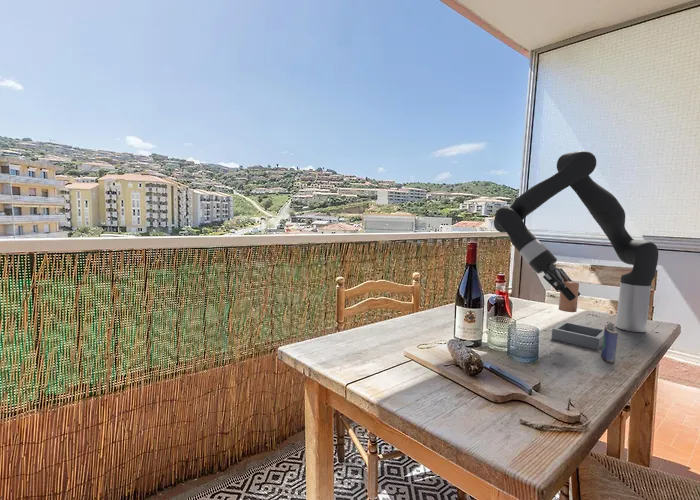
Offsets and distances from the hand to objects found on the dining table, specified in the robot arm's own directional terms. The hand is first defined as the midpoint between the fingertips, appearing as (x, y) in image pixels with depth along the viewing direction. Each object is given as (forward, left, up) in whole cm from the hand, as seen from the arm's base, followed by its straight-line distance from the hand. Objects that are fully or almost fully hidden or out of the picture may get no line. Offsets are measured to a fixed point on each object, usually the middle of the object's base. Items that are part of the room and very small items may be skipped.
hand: (575, 297), depth 119 cm
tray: (-9, 0, -16) cm, 18 cm away
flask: (+3, +10, -16) cm, 19 cm away
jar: (0, -2, -4) cm, 5 cm away
